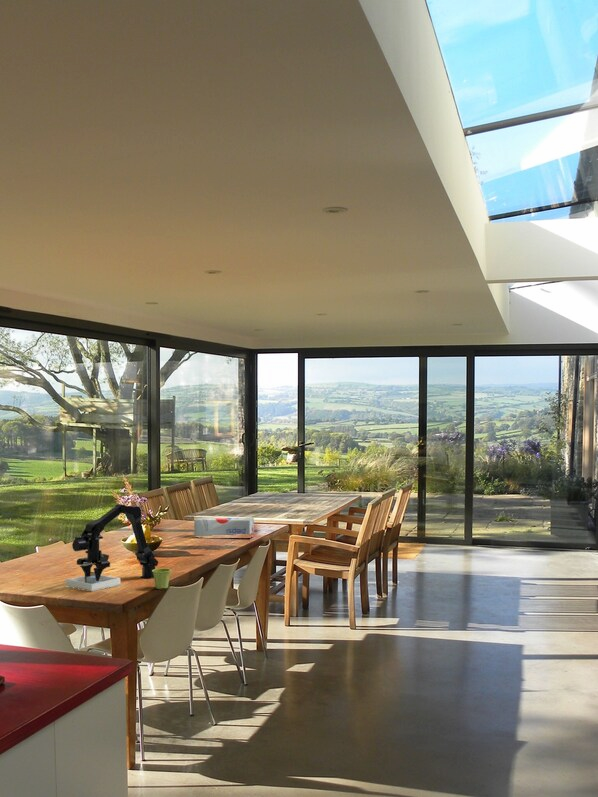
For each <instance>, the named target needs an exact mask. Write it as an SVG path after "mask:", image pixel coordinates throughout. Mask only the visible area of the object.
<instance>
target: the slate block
mask: <svg viewBox="0 0 598 797" xmlns="http://www.w3.org/2000/svg"><path fill="white" fill-rule="evenodd" d="M99 582H100V579H99V581H96V577H95V576H89V577H87V583H90V584H94V583H99Z"/></svg>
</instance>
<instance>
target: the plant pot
mask: <svg viewBox="0 0 598 797" xmlns="http://www.w3.org/2000/svg"><path fill="white" fill-rule="evenodd" d="M152 572H153V575H154V578H153V580H154V587H155V589H156V590H157V589H158V590H161V589H168V588H169V581H170V576H171V575H170V574H171V572H172V569H170V568H155V569H154V570H152Z"/></svg>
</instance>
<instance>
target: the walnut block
mask: <svg viewBox="0 0 598 797" xmlns="http://www.w3.org/2000/svg"><path fill="white" fill-rule="evenodd" d="M84 576H85V583H87V577H86V575H85V574H84ZM90 576H95V572H94V571H91V574H90Z"/></svg>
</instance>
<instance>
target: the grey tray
mask: <svg viewBox="0 0 598 797" xmlns="http://www.w3.org/2000/svg"><path fill="white" fill-rule="evenodd" d="M64 581H65V585H64V586H69V587H68V588H70V587H74V588H73V589H75V588H79V589H78V590H80V589H84V590H83V591H85V590H88V591H87V592H90V591H93V592H97V591H101V590H100V589H102V590H105V588H106V589H110V588H109V587H111V588H114V586H115V587H119V586H121V578H120V577H116V576H109V575H103V574H101V576H100V582H99V583H94V584H90V583H85V575H81V576H77V577H72V578H68V579H65V580H64ZM96 590H97V591H96Z"/></svg>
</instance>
